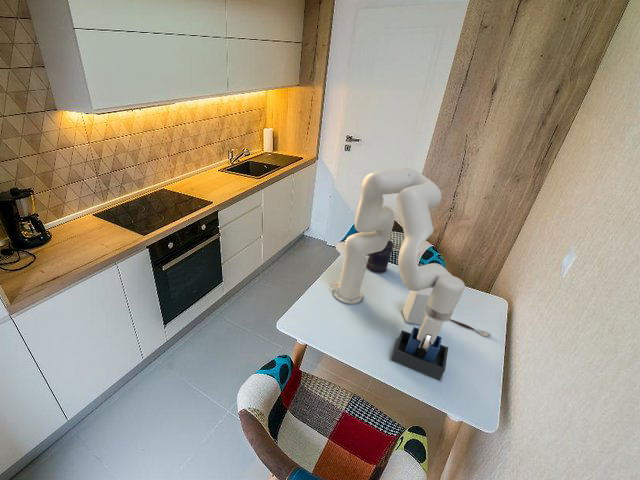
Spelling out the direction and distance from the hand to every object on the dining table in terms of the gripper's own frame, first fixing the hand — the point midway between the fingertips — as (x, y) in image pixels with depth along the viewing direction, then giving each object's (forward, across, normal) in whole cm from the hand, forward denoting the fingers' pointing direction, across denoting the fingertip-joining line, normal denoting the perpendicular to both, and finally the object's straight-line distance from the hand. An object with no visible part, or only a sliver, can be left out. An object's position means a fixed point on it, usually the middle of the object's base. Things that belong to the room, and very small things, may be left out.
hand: (421, 348), depth 113 cm
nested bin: (+1, 0, 0) cm, 1 cm away
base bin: (+5, 0, 0) cm, 5 cm away
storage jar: (+6, -55, -28) cm, 62 cm away
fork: (+5, -29, +16) cm, 33 cm away
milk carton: (+5, -23, -5) cm, 24 cm away
